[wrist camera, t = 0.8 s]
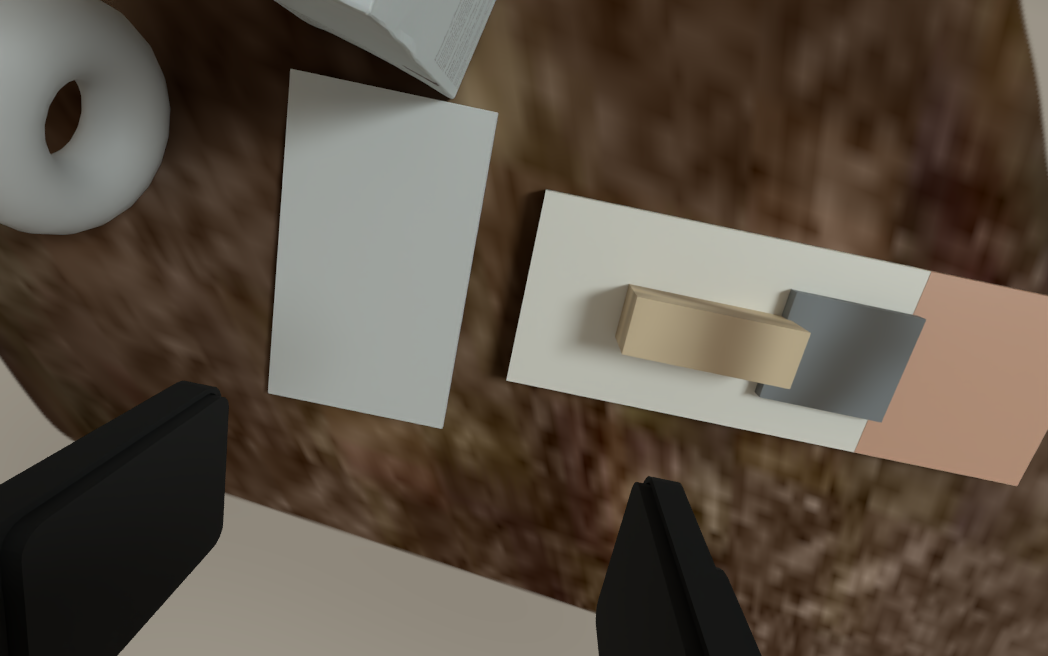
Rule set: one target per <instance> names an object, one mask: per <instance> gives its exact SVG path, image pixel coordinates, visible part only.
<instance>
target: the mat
mask: <svg viewBox="0 0 1048 656" xmlns="http://www.w3.org/2000/svg"><path fill="white" fill-rule="evenodd" d="M497 118H498V113H497V112H492V111H487V110H483V109H478V108H473V107H468V106H464V105H459V104H454V103H450V102H445V101H440V100H436V99H431V98H426V97H421V96H417V95H412V94H407V93H403V92H398V91H393V90H389V89H384V88H379V87H374V86H370V85H365V84H360V83H356V82H351V81H346V80H342V79H337V78H332V77H328V76H323V75H318V74H313V73H309V72H304V71H299V70H295V69H290V82H289V96H288V111H287V125H286V139H285V154H284V168H283V182H282V197H281V211H280V225H279V240H278V254H277V268H276V283H275V297H274V311H273V326H272V340H271V354H270V369H269V383H268V393H270V394H275V395H280V396H285V397H290V398H294V399H299V400H304V401H309V402H314V403H319V404H324V405H329V406H333V407H338V408H343V409H348V410H353V411H358V412H363V413H368V414H372V415H377V416H382V417H387V418H392V419H397V420H402V421H407V422H411V423H416V424H421V425H426V426H431V427H436V428H441V429H442V428H443V425H444V419H445V413H446V408H447V402H448V396H449V391H450V385H451V379H452V374H453V368H454V362H455V357H456V351H457V345H458V340H459V334H460V328H461V323H462V317H463V311H464V305H465V300H466V294H467V288H468V283H469V277H470V271H471V266H472V260H473V254H474V249H475V243H476V237H477V232H478V226H479V220H480V215H481V209H482V203H483V198H484V192H485V186H486V180H487V175H488V169H489V163H490V158H491V152H492V146H493V141H494V135H495V129H496V124H497Z"/></svg>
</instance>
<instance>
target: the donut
mask: <svg viewBox="0 0 1048 656" xmlns="http://www.w3.org/2000/svg"><path fill="white" fill-rule="evenodd" d="M73 80H75V81H76V83H77V85H78V86H79V90H80V93H81V105H82V112H81V116H80V120H79V124H78V128H77V129H76V131H75V133H74V135H73V136H72V138H71V140H70V142H69V143H67V144H66V145H65V146H64V147H63V148H62V149H61V150H59V151H57V152H55V153H53V154H50V153H49V150H48V147H47V144H46V141H45V121H46V117H47V113H48V109H49V106H50V104H51V102H52V101H53V99H54V97H55V96H56V94H57V92H58V91H59V90H60V89H61V88H62V87H63V86H64V85H65V84H67V83H68V82H70V81H73ZM169 124H170V103H169V98H168V92H167V86H166V81H165V78H164V75H163V73H162V70H161V68H160V66H159V64H158V61H157V59H156V57H155V55H154V53H153V50H152V48H151V46H150V45H149V44H148V42H147V41H146V40H145V39H144V38H143V37H142V35H141V34H140V33H139V32H138V31H137V30H136V28H135V27H134V26H133V25H132V24H131V23H130V22H129V20H128V19H127V18H126V17H125V16H124V15H123V14H122V13H121V12H119V11H117V10H116V9H114V8H112V7H111V6H109V5H107V4H106V3H104V2H102V1H101V0H0V223H1V224H3V225H6V226H8V227H11V228H13V229H16V230H18V231H22V232H27V233H32V234H55V235H67V234H75V233H78V232H82V231H85V230H89V229H92V228H95V227H99V226H102V225H104V224H105V223H107V222H109V221H110V220H112V219H113V218H115V217H116V216H118V215H119V214H121V213H122V212H124V211H125V210H127V209H128V208H130V207H131V206H132V205H133V204H134V203H135V202H136V200H137V199H138V198H139V197H140V196H141V195H142V194H143V193H144V191H145V190H146V189H147V188H148V187H149V185H150V183H151V181H152V180H153V178H154V176H155V174H156V172H157V170H158V168H159V166H160V165H161V162H162V159H163V155H164V152H165V148H166V145H167V141H168V138H169Z"/></svg>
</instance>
